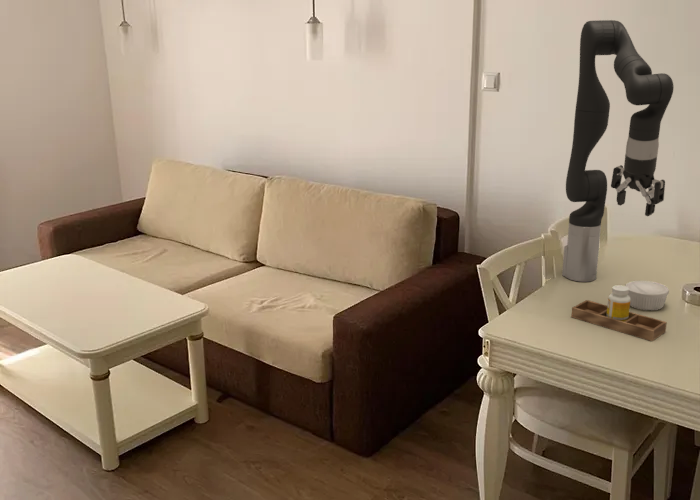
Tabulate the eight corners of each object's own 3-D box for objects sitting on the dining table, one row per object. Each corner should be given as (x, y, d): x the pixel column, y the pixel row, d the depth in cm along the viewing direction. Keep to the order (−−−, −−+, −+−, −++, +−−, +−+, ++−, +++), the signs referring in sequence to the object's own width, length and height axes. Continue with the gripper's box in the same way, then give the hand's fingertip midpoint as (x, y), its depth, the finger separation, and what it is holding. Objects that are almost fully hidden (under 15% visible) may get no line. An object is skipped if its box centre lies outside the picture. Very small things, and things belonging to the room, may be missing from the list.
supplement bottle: (601, 320, 187) (604, 286, 184) (616, 316, 189) (620, 282, 186) (617, 328, 182) (620, 292, 179) (632, 323, 184) (636, 289, 181)
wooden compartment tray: (571, 317, 191) (572, 307, 190) (585, 309, 196) (586, 299, 195) (651, 341, 176) (653, 331, 175) (665, 331, 181) (666, 322, 180)
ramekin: (615, 303, 199) (616, 286, 198) (637, 294, 206) (639, 277, 204) (652, 316, 191) (654, 297, 189) (674, 305, 197) (676, 287, 196)
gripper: (676, 156, 177) (667, 214, 185) (627, 141, 187) (621, 196, 196) (656, 165, 174) (648, 223, 182) (608, 149, 184) (602, 205, 192)
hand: (634, 209), depth 189 cm, fingers open, 8 cm apart
